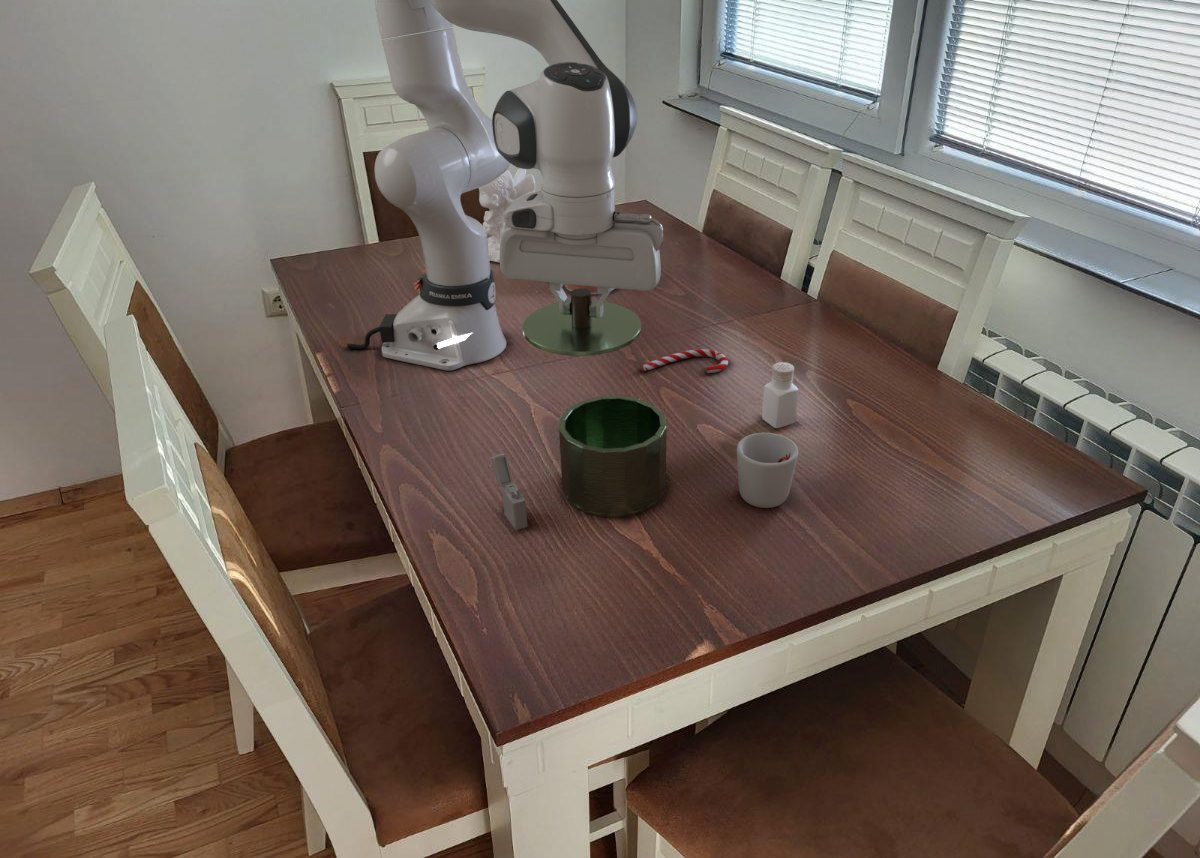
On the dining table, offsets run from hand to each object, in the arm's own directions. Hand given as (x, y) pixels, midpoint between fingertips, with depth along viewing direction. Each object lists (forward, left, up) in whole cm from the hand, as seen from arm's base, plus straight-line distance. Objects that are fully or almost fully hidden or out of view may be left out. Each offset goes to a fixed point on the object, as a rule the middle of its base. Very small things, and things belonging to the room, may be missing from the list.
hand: (581, 314), depth 114 cm
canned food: (-16, +67, -25) cm, 73 cm away
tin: (+5, -3, -24) cm, 25 cm away
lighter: (-7, -12, -25) cm, 28 cm away
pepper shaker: (+26, +19, -25) cm, 40 cm away
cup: (+25, 0, -25) cm, 35 cm away
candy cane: (+9, +34, -25) cm, 43 cm away
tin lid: (0, 0, -2) cm, 2 cm away
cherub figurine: (-39, +81, -25) cm, 93 cm away
